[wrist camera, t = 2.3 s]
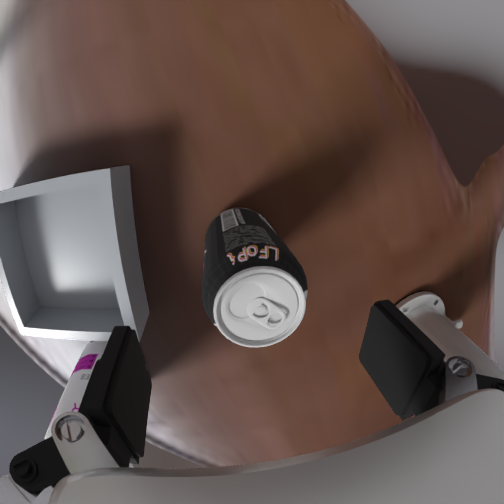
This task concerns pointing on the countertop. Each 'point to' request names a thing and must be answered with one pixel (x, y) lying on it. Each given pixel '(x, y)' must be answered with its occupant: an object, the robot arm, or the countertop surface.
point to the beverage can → (251, 280)
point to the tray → (72, 256)
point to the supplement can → (79, 382)
